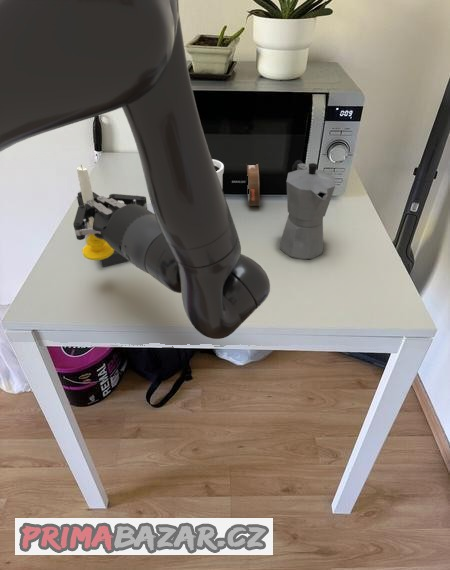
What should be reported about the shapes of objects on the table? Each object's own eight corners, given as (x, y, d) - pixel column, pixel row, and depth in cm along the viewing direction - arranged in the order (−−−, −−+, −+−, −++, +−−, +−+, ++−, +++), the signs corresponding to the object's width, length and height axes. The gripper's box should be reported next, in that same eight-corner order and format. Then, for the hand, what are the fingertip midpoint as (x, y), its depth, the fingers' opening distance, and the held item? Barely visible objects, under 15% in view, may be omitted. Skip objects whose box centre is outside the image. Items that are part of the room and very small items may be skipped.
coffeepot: (335, 263, 86) (353, 178, 75) (289, 268, 85) (300, 182, 73) (308, 222, 98) (320, 143, 86) (267, 226, 96) (274, 146, 85)
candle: (103, 239, 78) (87, 154, 68) (120, 252, 75) (105, 165, 65) (77, 250, 75) (56, 164, 65) (93, 264, 72) (73, 175, 62)
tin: (259, 212, 101) (262, 178, 96) (246, 212, 101) (247, 178, 96) (257, 182, 113) (259, 150, 107) (245, 182, 113) (246, 150, 107)
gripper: (181, 200, 63) (114, 163, 73) (100, 235, 56) (37, 188, 65) (183, 244, 68) (120, 203, 77) (109, 281, 61) (49, 231, 70)
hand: (82, 196), depth 71 cm, fingers closed
